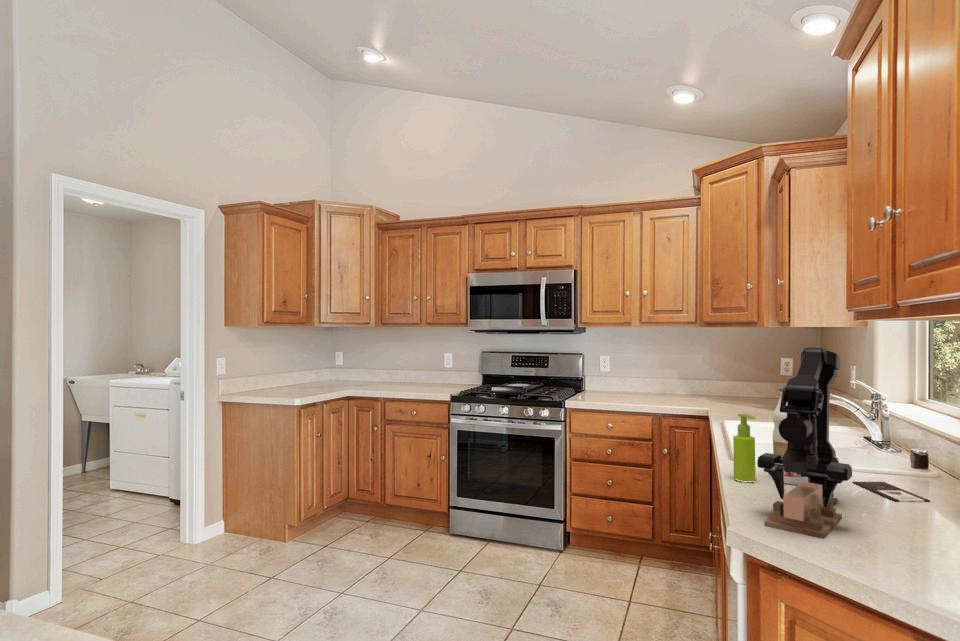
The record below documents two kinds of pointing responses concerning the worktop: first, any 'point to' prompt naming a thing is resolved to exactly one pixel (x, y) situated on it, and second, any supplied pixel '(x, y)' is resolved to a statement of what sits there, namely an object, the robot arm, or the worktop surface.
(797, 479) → the fruit juice
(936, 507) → the worktop surface
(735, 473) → the soap dispenser
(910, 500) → the chocolate bar
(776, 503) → the drying rack
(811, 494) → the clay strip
